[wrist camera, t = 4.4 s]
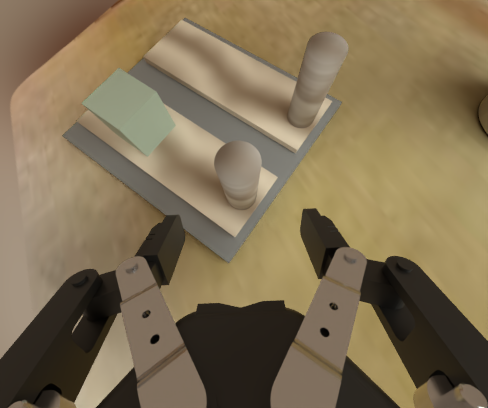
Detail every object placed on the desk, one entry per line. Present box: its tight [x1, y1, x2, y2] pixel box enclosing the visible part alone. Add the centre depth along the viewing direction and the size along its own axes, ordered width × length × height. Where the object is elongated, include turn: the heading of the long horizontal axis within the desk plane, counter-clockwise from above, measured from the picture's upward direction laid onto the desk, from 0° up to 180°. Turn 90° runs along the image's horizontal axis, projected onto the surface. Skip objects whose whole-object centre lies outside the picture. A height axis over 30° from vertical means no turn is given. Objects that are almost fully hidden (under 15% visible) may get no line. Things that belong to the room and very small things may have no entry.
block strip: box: [76, 103, 278, 237], centre depth 19 cm, size 8×24×9 cm, turn 54°
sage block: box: [82, 68, 176, 157], centre depth 20 cm, size 5×5×5 cm
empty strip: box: [143, 20, 348, 154], centre depth 21 cm, size 8×24×9 cm, turn 54°
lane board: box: [62, 18, 342, 263], centre depth 25 cm, size 24×26×1 cm
